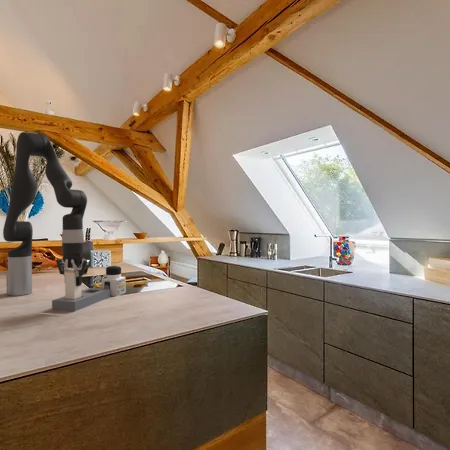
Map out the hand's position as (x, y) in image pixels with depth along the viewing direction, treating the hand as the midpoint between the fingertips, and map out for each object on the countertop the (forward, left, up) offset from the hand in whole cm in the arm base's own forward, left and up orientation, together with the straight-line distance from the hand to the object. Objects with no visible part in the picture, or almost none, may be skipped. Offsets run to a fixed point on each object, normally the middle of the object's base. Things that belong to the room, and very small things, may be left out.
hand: (73, 285), depth 124 cm
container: (+3, +23, -9) cm, 24 cm away
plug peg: (0, 0, -5) cm, 5 cm away
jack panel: (0, +6, -9) cm, 10 cm away
